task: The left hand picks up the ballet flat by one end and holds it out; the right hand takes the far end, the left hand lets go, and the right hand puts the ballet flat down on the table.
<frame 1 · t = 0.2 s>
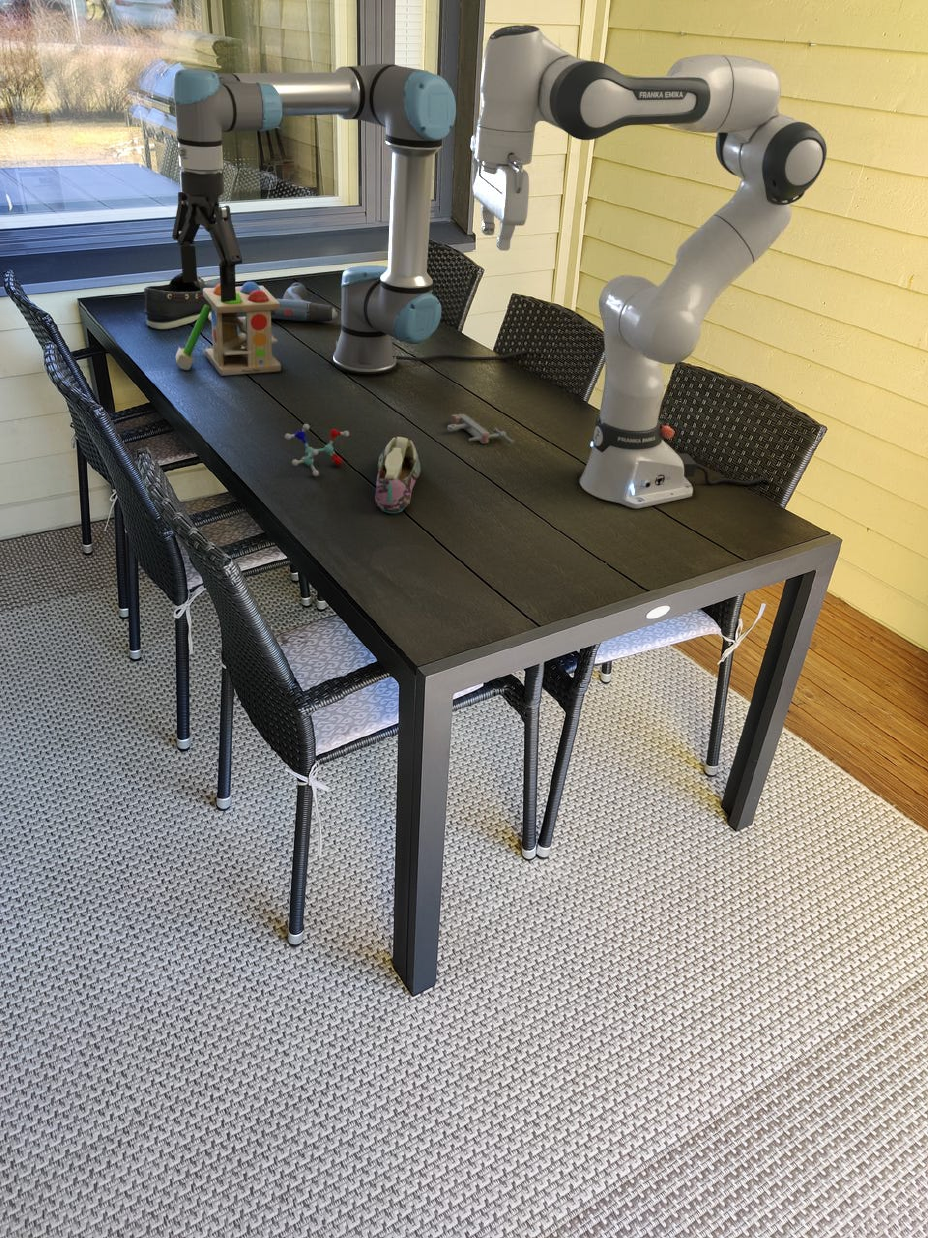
left hand: (209, 290, 186), 28 cm above the table, tool pointing down, fingers open, 13 cm apart
right hand: (495, 241, 158), 47 cm above the table, tool pointing down, fingers open, 8 cm apart
pounding bench toy: (225, 365, 230), on the table
ballet flat: (396, 486, 186), on the table
molecular model: (313, 466, 190), on the table
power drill: (305, 313, 267), on the table
boat shoe: (193, 313, 259), on the table
clamp: (476, 437, 208), on the table
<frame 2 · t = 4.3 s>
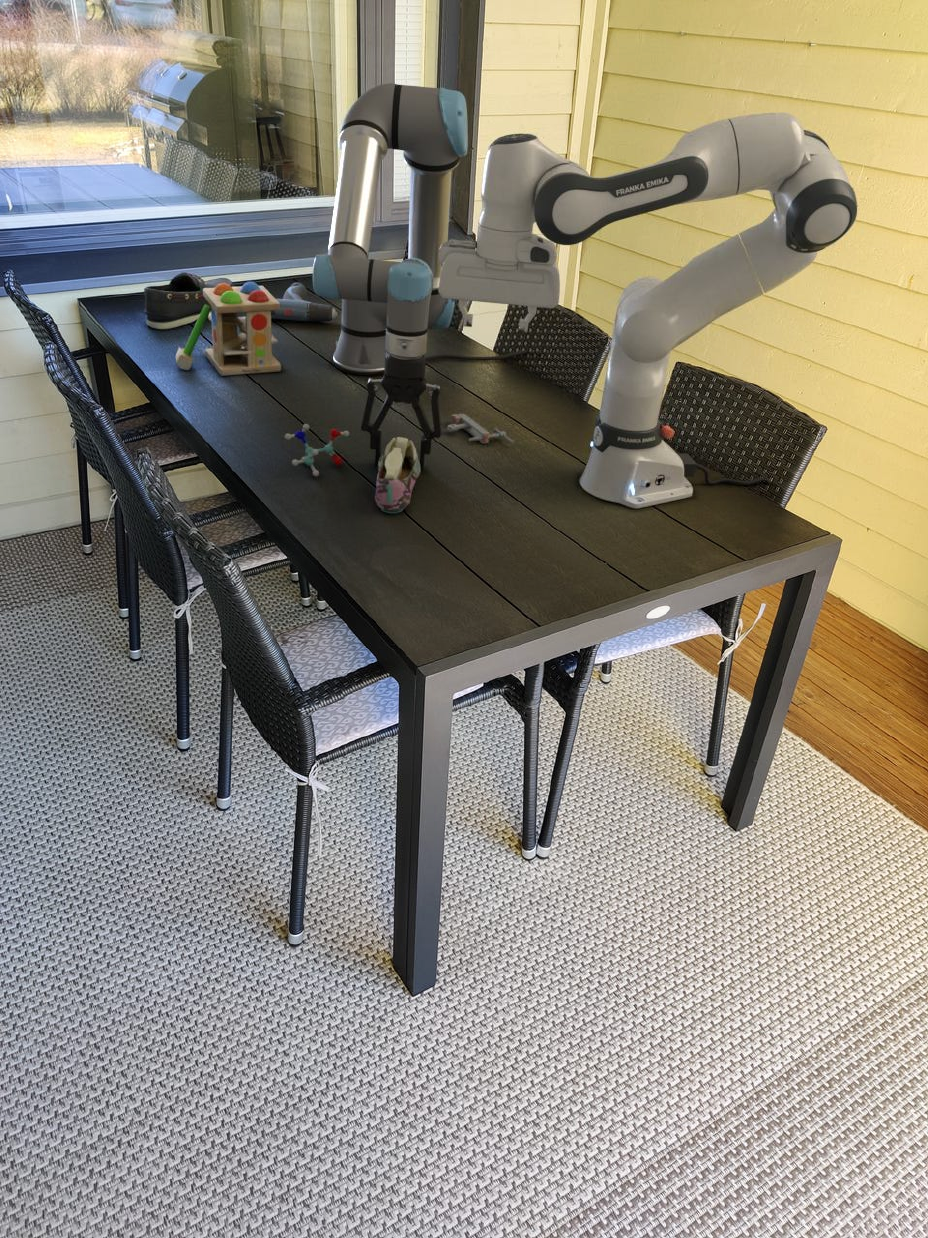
left hand: (399, 466, 192), 0 cm above the table, tool pointing down, fingers closed on ballet flat, 8 cm apart
right hand: (495, 328, 167), 32 cm above the table, tool pointing down, fingers open, 8 cm apart
ballet flat: (396, 486, 186), on the table, touching left hand
everything else where it was.
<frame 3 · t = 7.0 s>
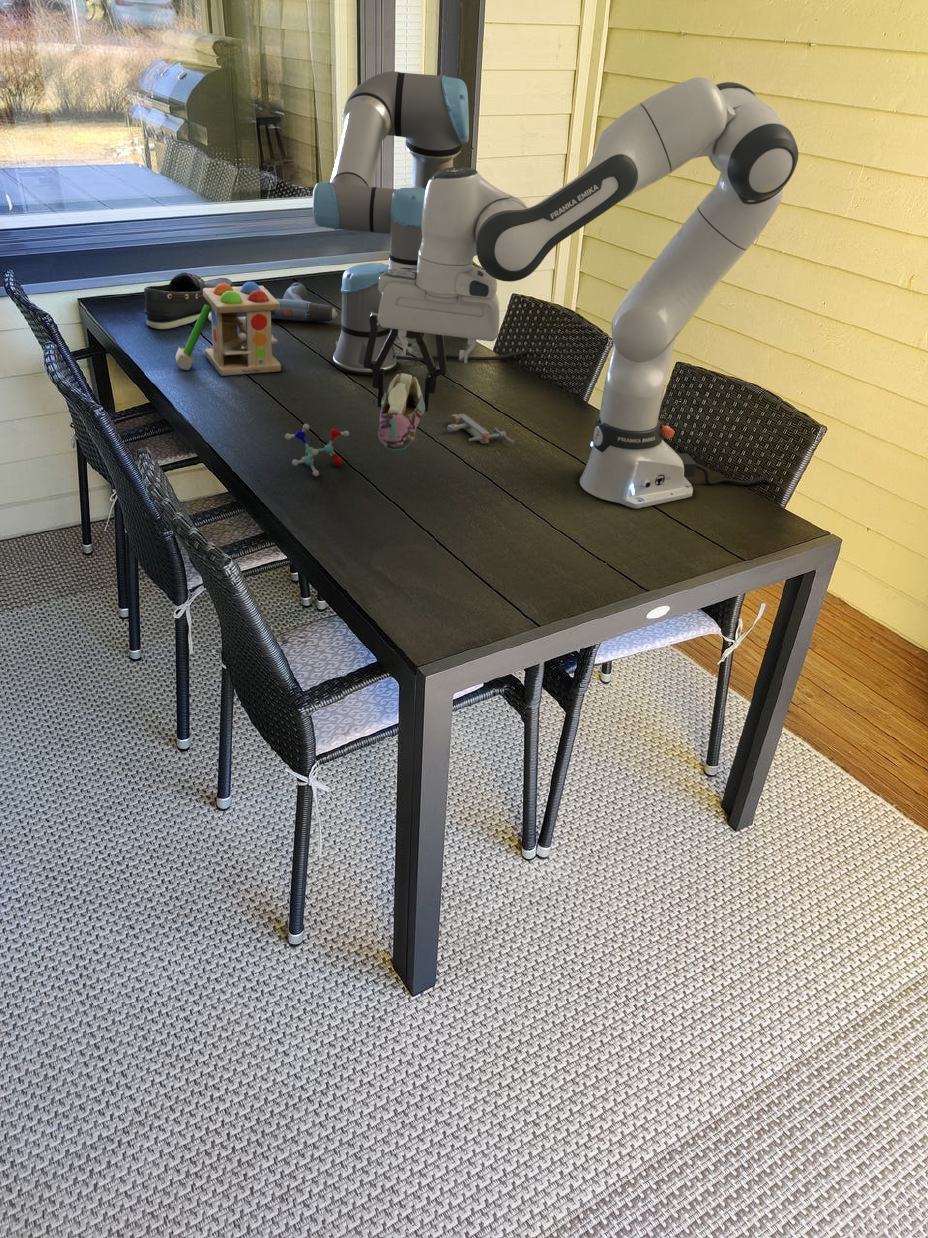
left hand: (403, 406, 186), 13 cm above the table, tool pointing down, fingers closed on ballet flat, 8 cm apart
right hand: (434, 358, 166), 28 cm above the table, tool pointing down, fingers open, 8 cm apart
ballet flat: (400, 425, 179), point 12 cm above the table, touching left hand
everything else where it was.
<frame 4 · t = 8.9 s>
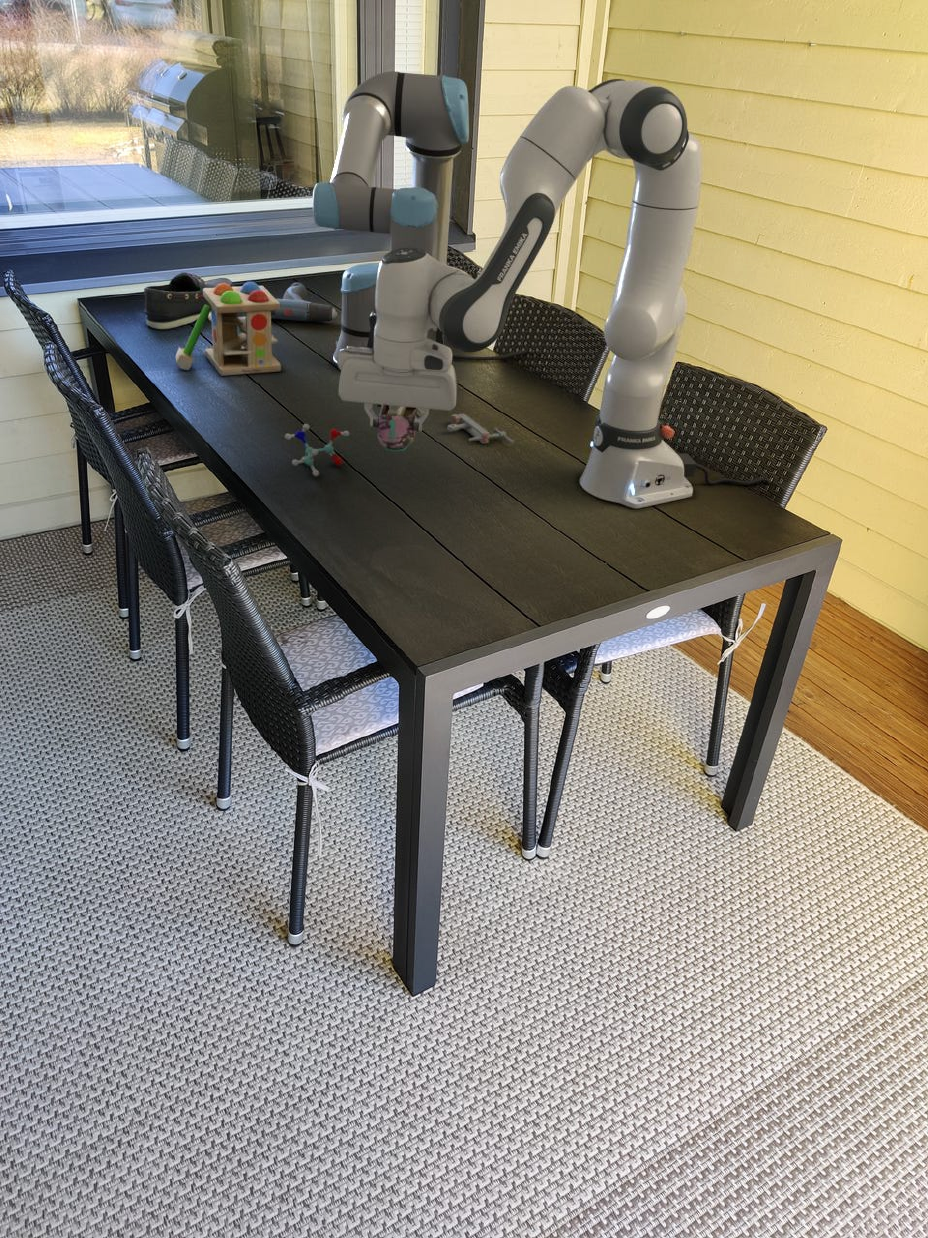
left hand: (403, 406, 186), 13 cm above the table, tool pointing down, fingers closed on ballet flat, 8 cm apart
right hand: (396, 428, 171), 15 cm above the table, tool pointing down, fingers closed on ballet flat, 6 cm apart
ballet flat: (400, 426, 179), point 12 cm above the table, touching left hand, right hand
everything else where it was.
when the left hand's fingers open (13 cm above the table, at t = 10.0 s): ballet flat stays where it is, held by the right hand.
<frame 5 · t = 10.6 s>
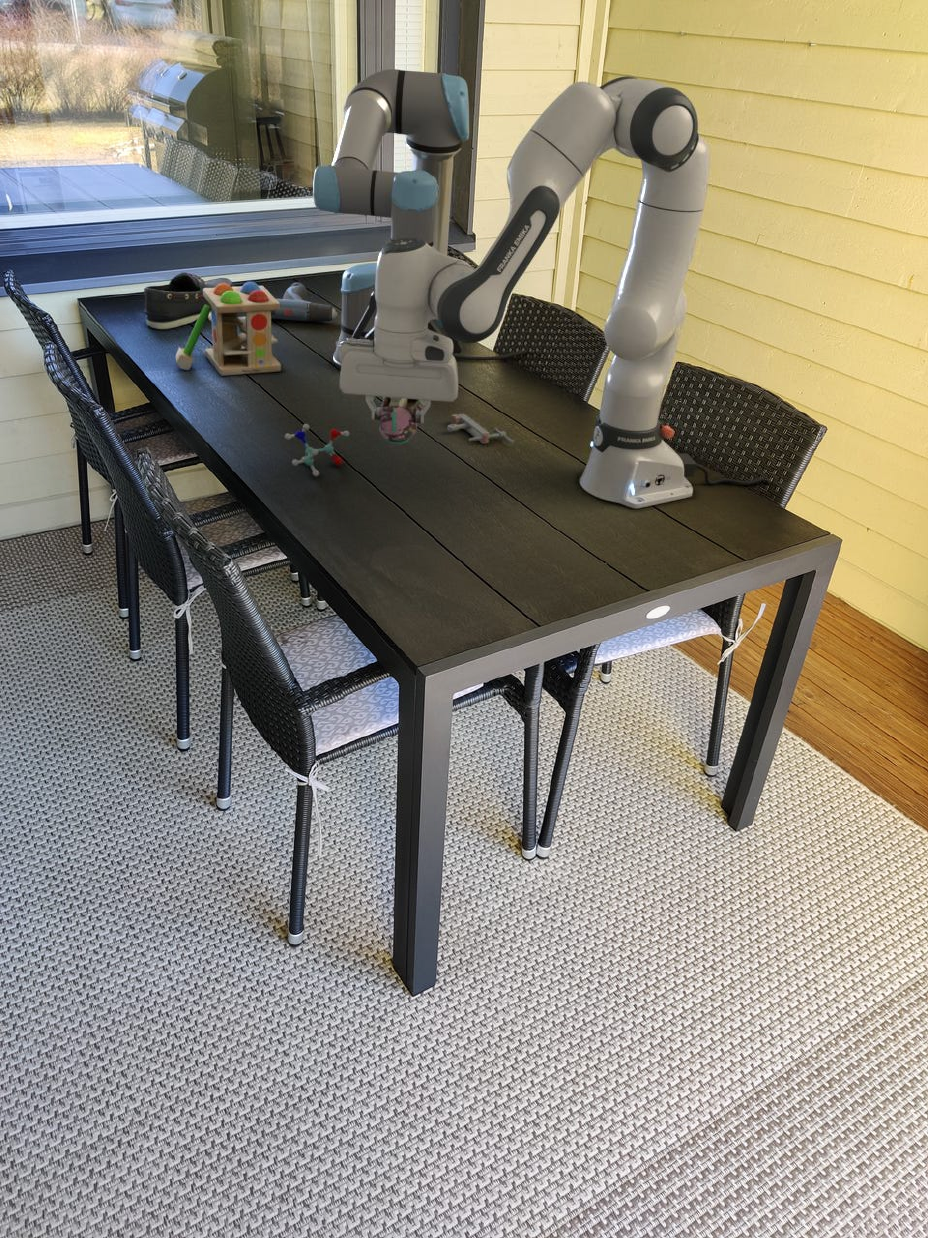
left hand: (404, 383, 184), 17 cm above the table, tool pointing down, fingers open, 13 cm apart
right hand: (398, 420, 171), 17 cm above the table, tool pointing down, fingers closed on ballet flat, 6 cm apart
ballet flat: (402, 418, 179), point 14 cm above the table, touching right hand
everything else where it was.
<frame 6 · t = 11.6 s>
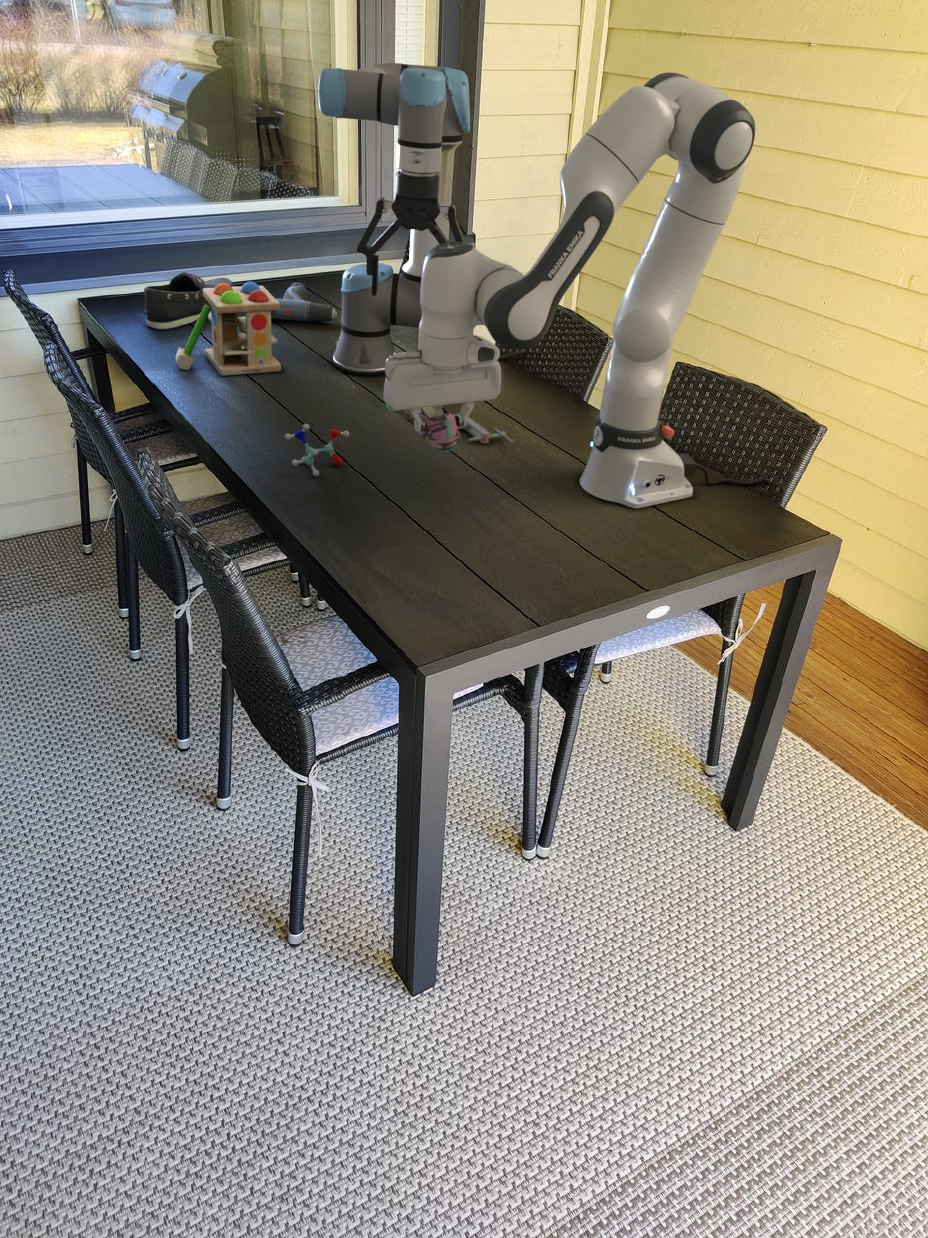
left hand: (411, 297, 180), 32 cm above the table, tool pointing down, fingers open, 13 cm apart
right hand: (440, 427, 167), 18 cm above the table, tool pointing down, fingers closed on ballet flat, 6 cm apart
ballet flat: (422, 426, 174), point 15 cm above the table, touching right hand
everything else where it was.
when the right hand's fingers open (4 cm above the table, at t = 14.7 s): ballet flat stays where it is, on the table.
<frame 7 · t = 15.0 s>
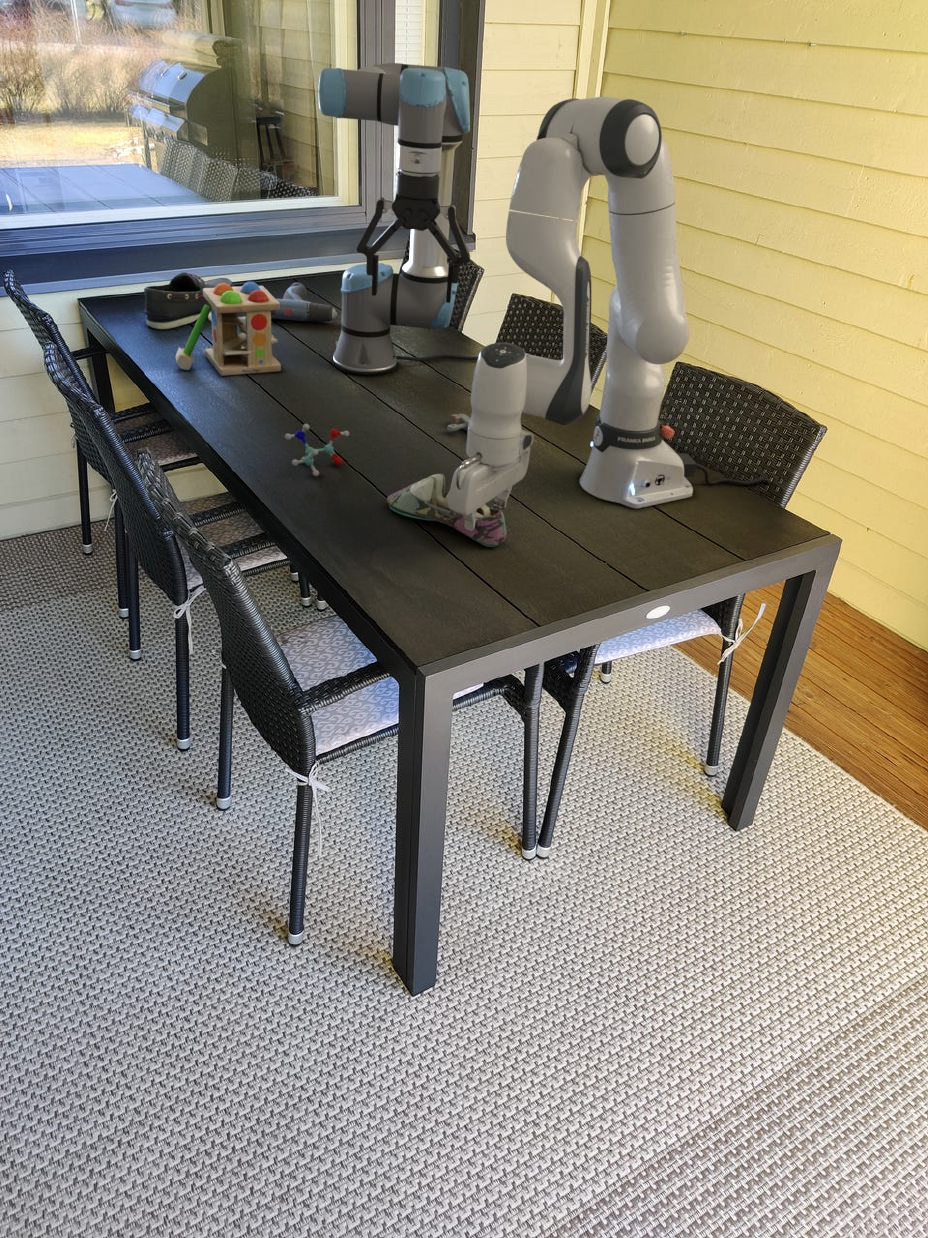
left hand: (411, 297, 180), 32 cm above the table, tool pointing down, fingers open, 13 cm apart
right hand: (485, 518, 170), 4 cm above the table, tool pointing down, fingers open, 8 cm apart
ballet flat: (446, 524, 175), on the table
everything else where it was.
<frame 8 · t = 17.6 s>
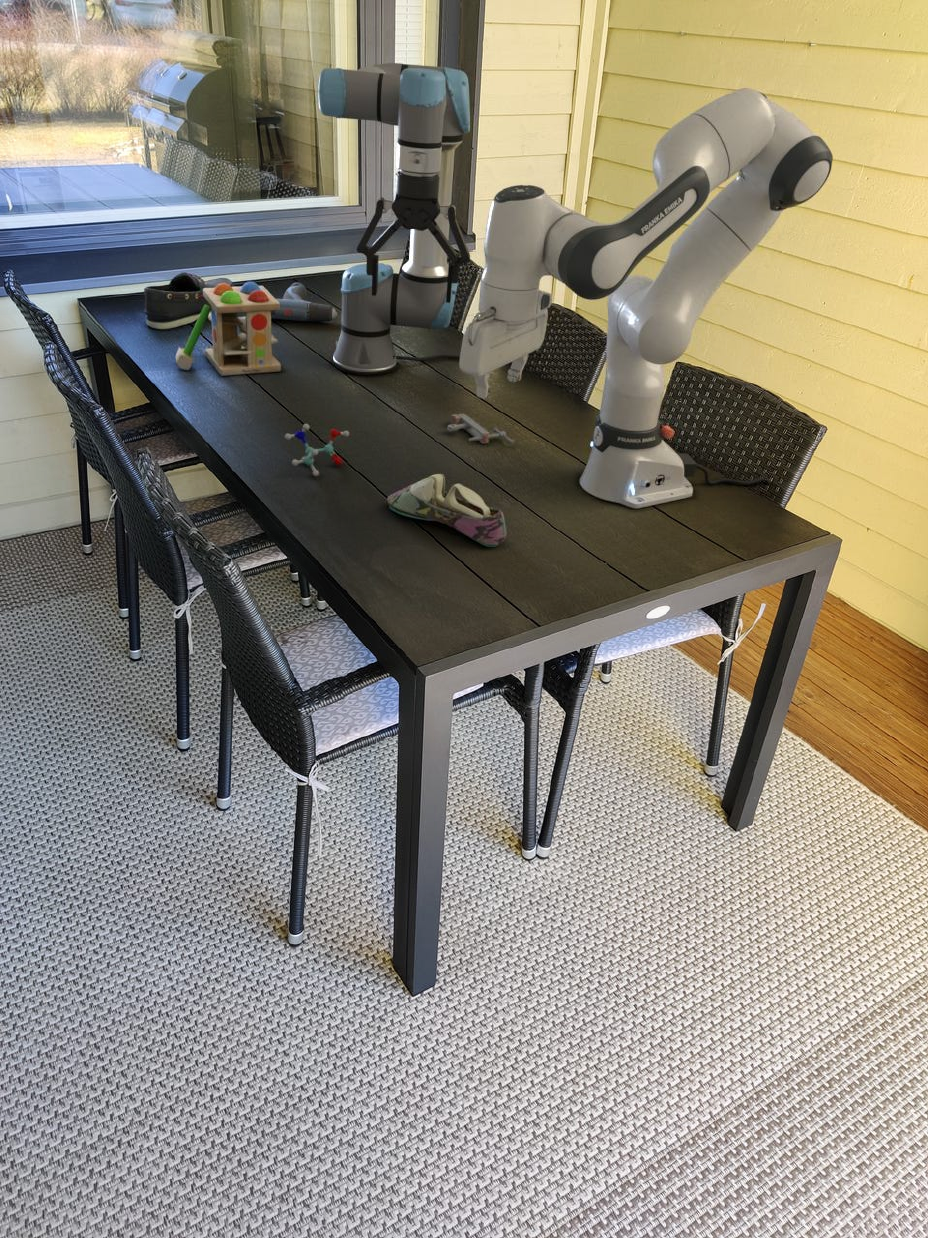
left hand: (411, 297, 180), 32 cm above the table, tool pointing down, fingers open, 13 cm apart
right hand: (498, 388, 157), 28 cm above the table, tool pointing down, fingers open, 8 cm apart
nothing on the table moved.
at the end: ballet flat inside the target area (7.7 cm from its centre), on the table; the left hand is holding nothing; the right hand is holding nothing; ballet flat at rest at the end (0.0 cm/s) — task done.
